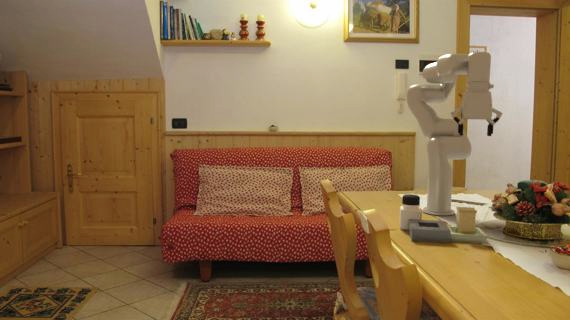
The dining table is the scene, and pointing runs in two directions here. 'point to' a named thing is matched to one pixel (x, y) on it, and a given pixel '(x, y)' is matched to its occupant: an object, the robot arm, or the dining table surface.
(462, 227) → the tan rectangular block
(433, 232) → the rail plate
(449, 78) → the robot arm
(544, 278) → the dining table surface
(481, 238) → the parts tray
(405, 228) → the medicine bottle
